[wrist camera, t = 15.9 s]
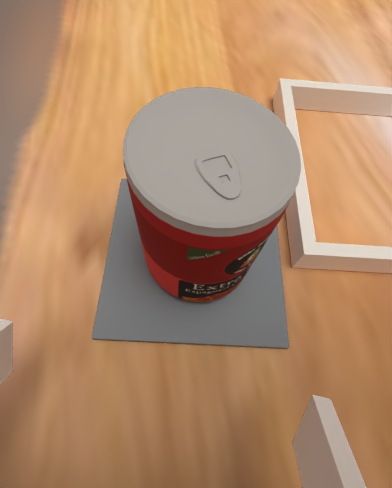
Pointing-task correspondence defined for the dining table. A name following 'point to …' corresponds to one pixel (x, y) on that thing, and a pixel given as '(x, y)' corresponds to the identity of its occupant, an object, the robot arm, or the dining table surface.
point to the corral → (299, 209)
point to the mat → (181, 311)
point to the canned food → (207, 186)
